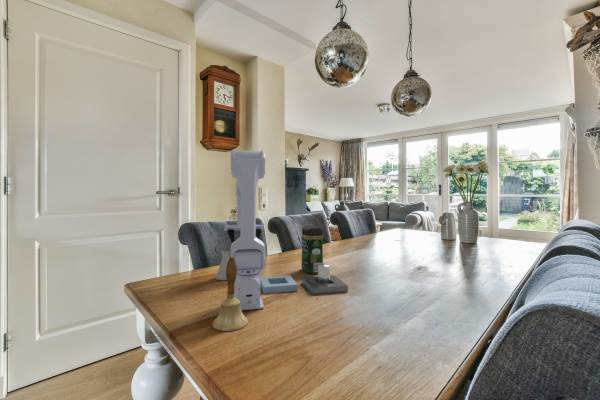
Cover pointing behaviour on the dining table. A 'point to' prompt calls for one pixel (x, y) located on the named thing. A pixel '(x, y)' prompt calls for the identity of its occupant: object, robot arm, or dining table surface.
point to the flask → (223, 266)
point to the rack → (278, 284)
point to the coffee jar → (312, 248)
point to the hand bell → (230, 304)
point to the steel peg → (323, 274)
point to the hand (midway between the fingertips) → (244, 249)
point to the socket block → (324, 285)
